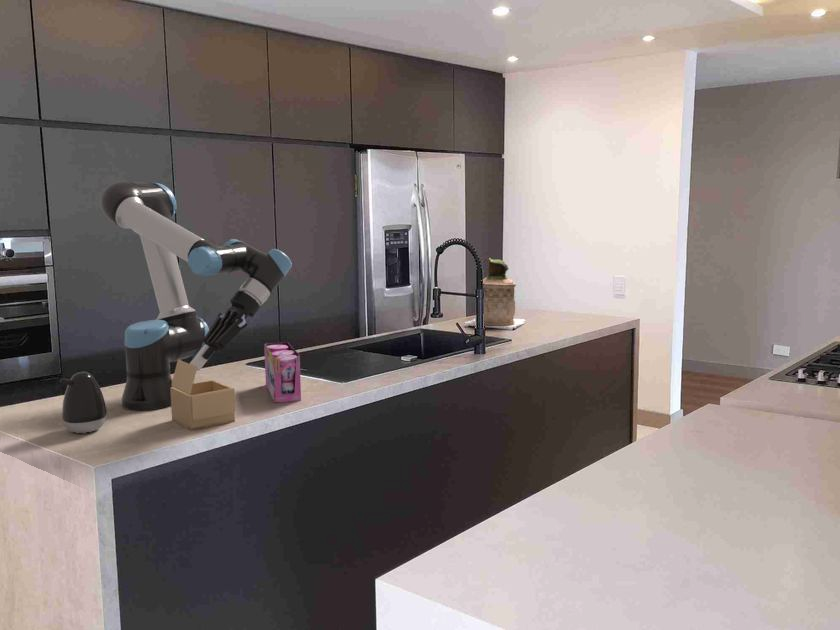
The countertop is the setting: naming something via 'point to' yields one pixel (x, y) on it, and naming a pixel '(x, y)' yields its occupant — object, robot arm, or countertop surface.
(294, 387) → the gum box
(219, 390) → the carton
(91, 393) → the pump dispenser
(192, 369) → the front flap
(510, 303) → the cookie jar
